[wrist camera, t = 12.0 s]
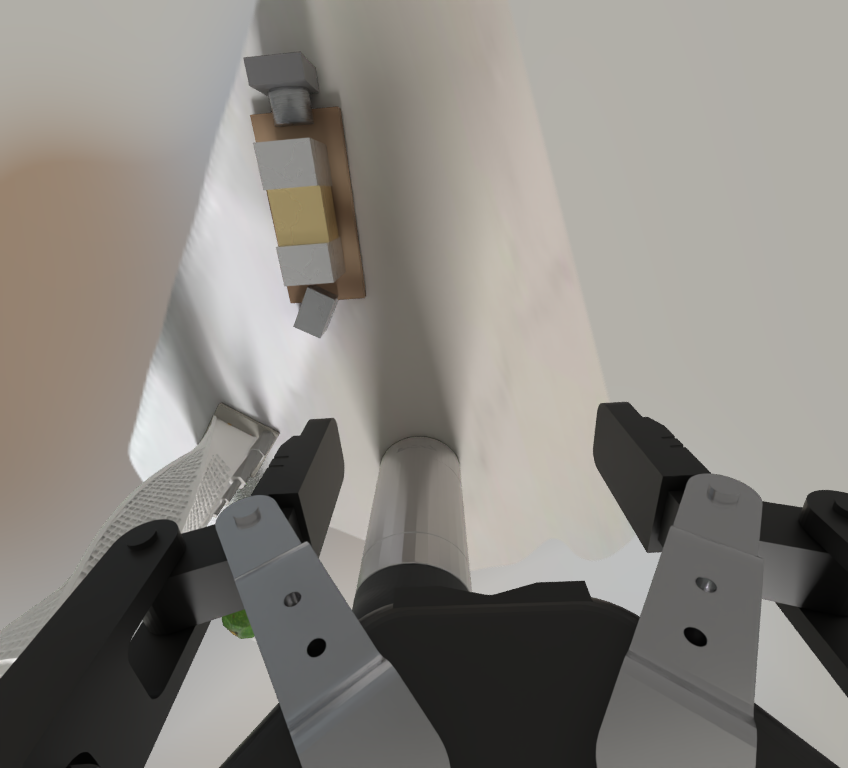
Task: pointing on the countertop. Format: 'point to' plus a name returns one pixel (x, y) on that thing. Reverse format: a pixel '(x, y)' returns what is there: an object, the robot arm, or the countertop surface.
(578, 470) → the countertop surface
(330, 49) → the countertop surface
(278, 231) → the gray and yellow block
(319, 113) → the coupling stand
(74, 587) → the skyscraper
